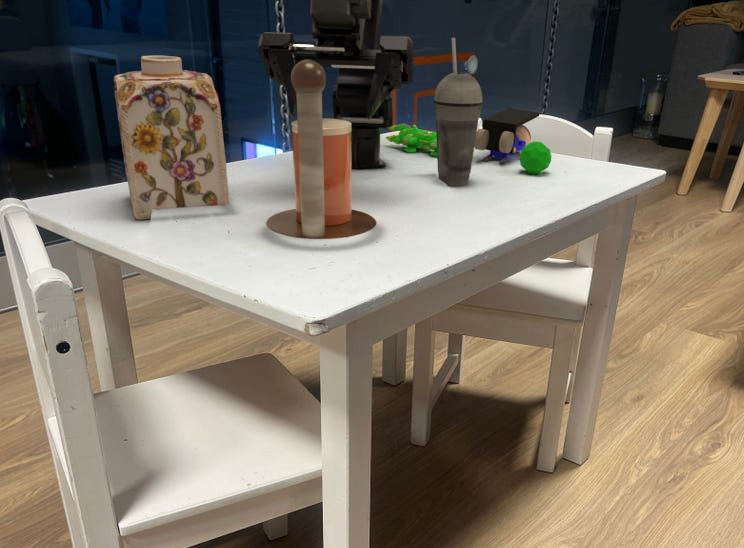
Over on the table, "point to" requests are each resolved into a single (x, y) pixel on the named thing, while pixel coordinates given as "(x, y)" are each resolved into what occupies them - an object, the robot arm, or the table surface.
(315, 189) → the towel holder
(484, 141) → the figurine character
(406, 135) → the crocodile figurine
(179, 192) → the decorative jar
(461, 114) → the beverage cup
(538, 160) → the polyhedron
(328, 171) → the tumbler
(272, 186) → the table surface
